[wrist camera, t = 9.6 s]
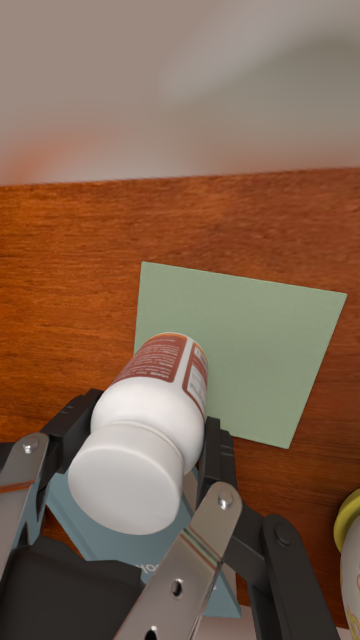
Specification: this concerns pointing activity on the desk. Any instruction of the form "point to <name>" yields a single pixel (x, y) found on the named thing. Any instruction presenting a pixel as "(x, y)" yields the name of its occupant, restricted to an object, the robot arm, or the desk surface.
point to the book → (138, 541)
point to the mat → (244, 342)
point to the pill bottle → (144, 438)
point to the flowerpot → (350, 558)
